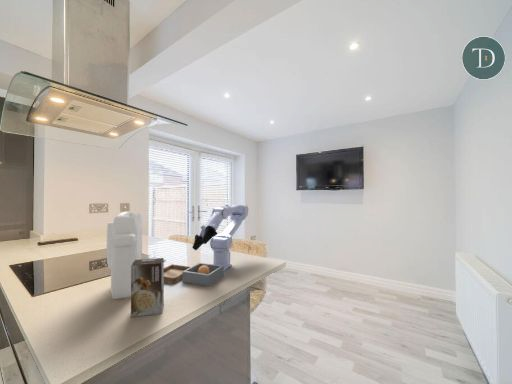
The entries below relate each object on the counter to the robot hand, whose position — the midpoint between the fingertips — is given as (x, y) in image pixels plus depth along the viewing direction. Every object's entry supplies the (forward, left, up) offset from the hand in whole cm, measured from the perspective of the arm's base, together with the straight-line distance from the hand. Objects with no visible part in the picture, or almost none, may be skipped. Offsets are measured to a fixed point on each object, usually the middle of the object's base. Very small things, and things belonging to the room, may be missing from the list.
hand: (198, 245), depth 97 cm
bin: (-4, 0, -16) cm, 16 cm away
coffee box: (+26, -2, -16) cm, 30 cm away
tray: (-2, -15, -16) cm, 22 cm away
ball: (-4, 0, -12) cm, 13 cm away
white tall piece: (+16, -24, -16) cm, 33 cm away
